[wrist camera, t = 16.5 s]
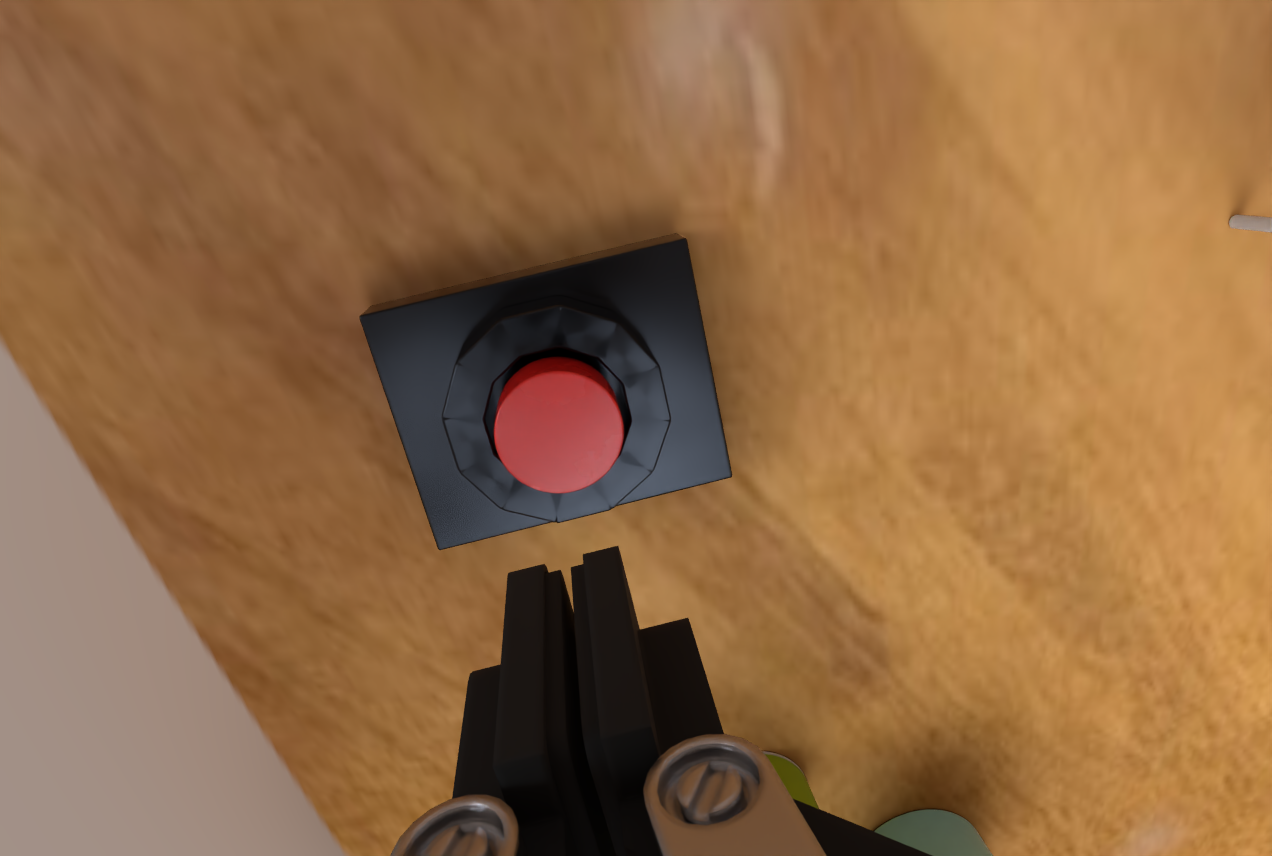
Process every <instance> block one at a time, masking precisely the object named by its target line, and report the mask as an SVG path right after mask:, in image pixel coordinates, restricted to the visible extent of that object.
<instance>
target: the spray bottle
mask: <svg viewBox="0 0 1272 856" xmlns="http://www.w3.org/2000/svg"><path fill="white" fill-rule="evenodd" d="M874 832H876V833H878V834H881V835H883V836H886V837H888V838H891V839H893V840H896V841H898V842H900V843H903V844H905V845H908V846H910V847H913V848H915V849H918V850H920V851H922V852H925V853H927V854H930V855H932V856H993V855H992V854H991V852H990V850H989V849H988V847H987V846H986V844H985V843H984V841H983V840H982V838H981V837H980V835H979V834H978V832H977V830H976V829H975V828H974V827H973V825H972V824H971V823H970V822H968V821H967V820H966V819H964V818H963V817H961V816H959V815H957V814H954V813H952V812H948V811H944V810H936V809H927V810H918V811H913V812H909V813H906V814H903V815H900V816H898V817H896V818H893V819H891V820H890V821H888V822H886V823H884V824H883V825H881V826H880V827H879V828H877V829H876V830H875V831H874Z"/></svg>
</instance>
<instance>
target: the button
mask: <svg viewBox="0 0 1272 856" xmlns="http://www.w3.org/2000/svg"><path fill="white" fill-rule="evenodd" d="M623 438H624V424H623V418H622V415H621V412H620V409H619V406H618V402H617V399H616V396H615V393H614V391H613V389H612V387H611V386H610V384H609V382H608V381H607V380H606V379H605V377H604V376H603V375H602V374H601V373H600V372H599V371H597V370H596V369H595V368H593V367H592V366H590V365H589V364H587V363H585V362H583V361H580V360H577V359H573V358H569V357H548V358H542V359H539V360H536V361H533V362H531V363H529V364H527V365H525V366H524V367H522V368H521V369H519V370H518V371H517V372H516V373H515V374H514V375H513V376H512V377H511V378H510V379H509V380H508V382H507V383H506V385H505V386H504V388H503V390H502V392H501V394H500V397H499V400H498V405H497V411H496V417H495V423H494V442H495V446H496V450H497V453H498V455H499V458H500V459H501V461H502V463H503V465H504V466H505V467H506V469H507V470H508V471H509V472H510V473H511V474H512V475H513V476H514V477H515V478H516V479H517V480H519V481H520V482H522V483H523V484H525V485H527V486H529V487H531V488H533V489H536V490H539V491H543V492H548V493H569V492H574V491H578V490H581V489H584V488H586V487H588V486H590V485H592V484H594V483H595V482H597V481H598V480H599V479H601V478H602V477H603V476H604V475H605V474H606V473H607V472H608V471H609V470H610V469H611V467H612V466H613V465H614V463H615V462H616V460H617V458H618V456H619V454H620V451H621V448H622V444H623Z"/></svg>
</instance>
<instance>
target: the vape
mask: <svg viewBox="0 0 1272 856" xmlns="http://www.w3.org/2000/svg"><path fill="white" fill-rule="evenodd" d="M762 752H763V753H764V754H765V755H766V756H767V758H768V759H769V760H770V762H771V764H772V765H773V767H774V769H775V770H776V772H777V774H778V775H779V777H780V779H781V780H782V782H783V784H784V785H785V787H786V789H787V790H788V792H789V794H790V795H791V797H792V798H793V799H795V800H798V801H800V802H803V803H805V804H808V805H810V806H812V807H815V808H817V809H819V808H818V806H817V803H816V801H815V799H814V796H813V794H812V792H811V789H810V787H809V785H808V782H807V780H806V778H805V775H804V773H803V772H802V770H801V769H800V768H799V767H798V766H797V765H796V764H795V763H794V762H793V761H791V760H790V759H788V758H786V757H784V756H782V755H779V754H776V753H772V752H766V751H762Z"/></svg>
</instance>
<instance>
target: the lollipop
mask: <svg viewBox="0 0 1272 856" xmlns="http://www.w3.org/2000/svg"><path fill="white" fill-rule="evenodd" d="M1229 225H1230V227H1231V228H1235V229H1245V230H1254V231H1264V232H1272V218H1271V217H1259V216H1247V215H1234V216H1232V217H1231V219H1230V221H1229Z"/></svg>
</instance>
